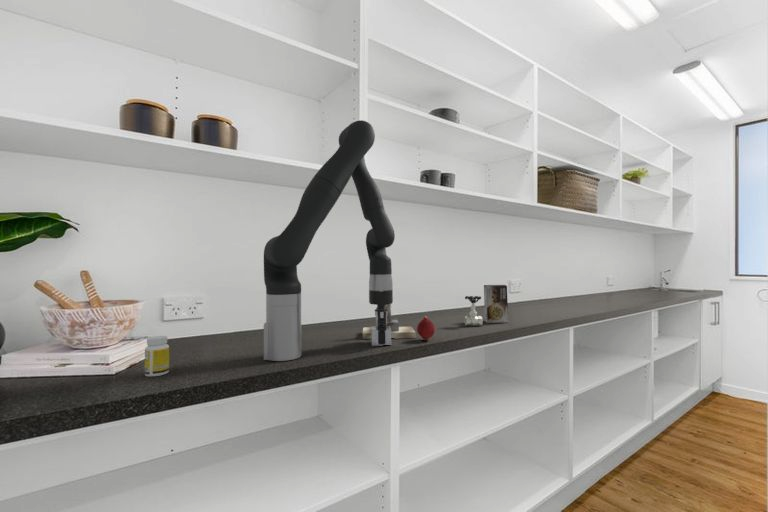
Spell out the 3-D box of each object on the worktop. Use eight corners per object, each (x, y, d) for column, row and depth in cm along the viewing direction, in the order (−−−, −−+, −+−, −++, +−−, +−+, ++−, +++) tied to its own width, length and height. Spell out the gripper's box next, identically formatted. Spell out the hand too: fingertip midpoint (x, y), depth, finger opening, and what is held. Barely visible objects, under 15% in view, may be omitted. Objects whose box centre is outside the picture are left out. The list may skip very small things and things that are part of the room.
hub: (372, 346, 109) (371, 329, 109) (371, 342, 115) (371, 326, 115) (391, 345, 109) (391, 329, 110) (390, 341, 115) (389, 326, 116)
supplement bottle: (173, 370, 84) (173, 335, 85) (161, 376, 80) (161, 339, 80) (152, 371, 84) (153, 335, 84) (139, 377, 79) (140, 339, 80)
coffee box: (505, 320, 158) (504, 284, 159) (508, 322, 152) (507, 285, 152) (484, 320, 159) (483, 284, 160) (486, 322, 153) (486, 285, 153)
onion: (438, 339, 118) (437, 315, 118) (430, 342, 113) (429, 317, 113) (422, 337, 121) (422, 314, 121) (414, 340, 116) (413, 316, 116)
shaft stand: (362, 339, 120) (362, 294, 120) (363, 332, 132) (362, 292, 132) (415, 338, 121) (414, 294, 121) (411, 331, 133) (410, 291, 133)
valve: (483, 327, 142) (483, 297, 142) (467, 327, 142) (466, 297, 142) (479, 324, 148) (479, 295, 149) (463, 324, 148) (463, 296, 149)
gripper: (368, 287, 120) (369, 337, 119) (369, 290, 105) (369, 347, 105) (391, 287, 120) (391, 337, 120) (394, 290, 106) (394, 346, 105)
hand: (381, 341), depth 112 cm, fingers closed on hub, 6 cm apart
